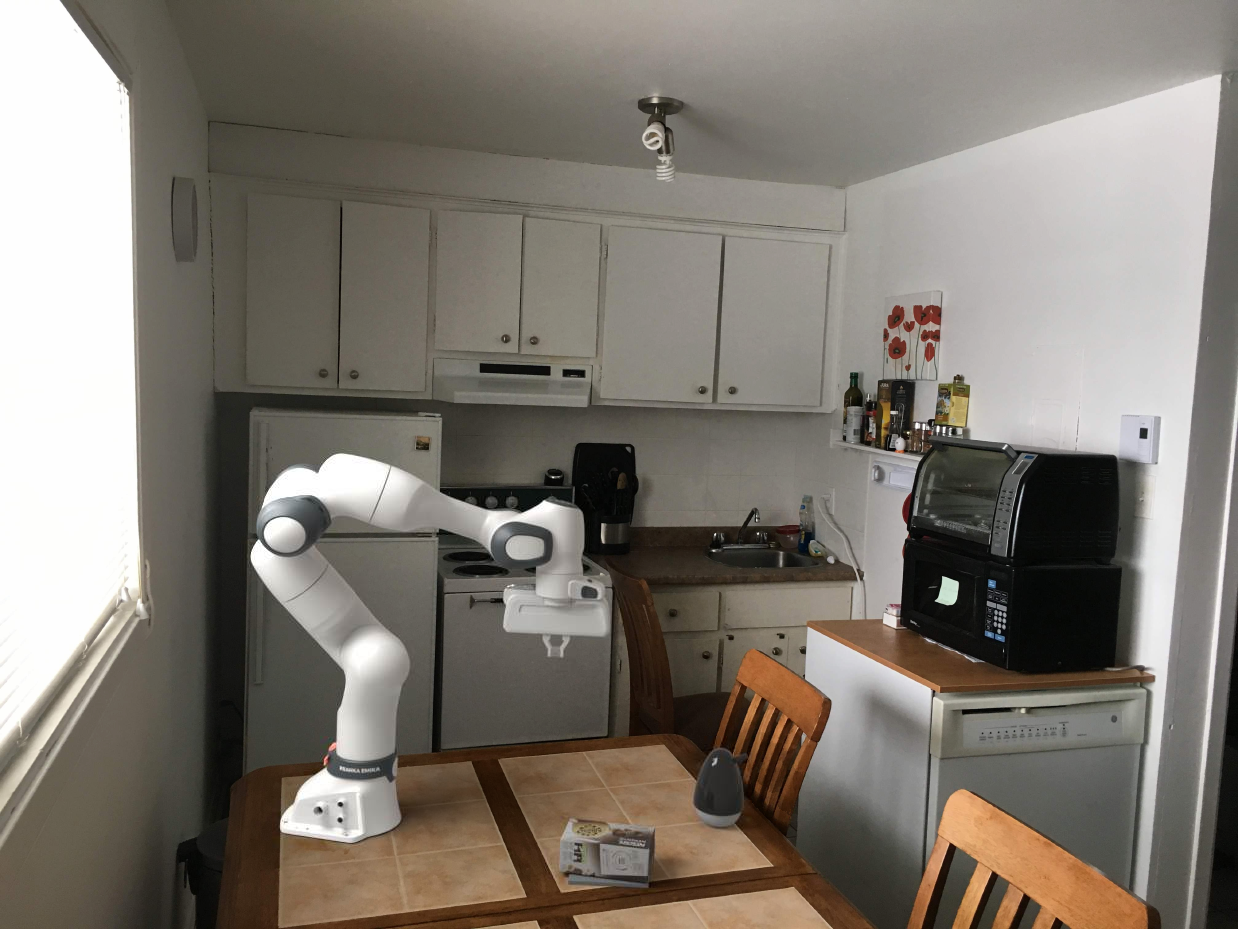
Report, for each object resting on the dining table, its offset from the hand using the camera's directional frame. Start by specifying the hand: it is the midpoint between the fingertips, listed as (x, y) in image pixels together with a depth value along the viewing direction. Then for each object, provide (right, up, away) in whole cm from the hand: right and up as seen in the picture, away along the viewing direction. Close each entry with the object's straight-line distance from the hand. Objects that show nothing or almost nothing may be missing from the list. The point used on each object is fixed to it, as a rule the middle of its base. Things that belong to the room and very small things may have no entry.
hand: (555, 656), depth 182 cm
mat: (+10, -36, -8) cm, 39 cm away
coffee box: (+2, -32, -8) cm, 33 cm away
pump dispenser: (+32, -36, +12) cm, 50 cm away
